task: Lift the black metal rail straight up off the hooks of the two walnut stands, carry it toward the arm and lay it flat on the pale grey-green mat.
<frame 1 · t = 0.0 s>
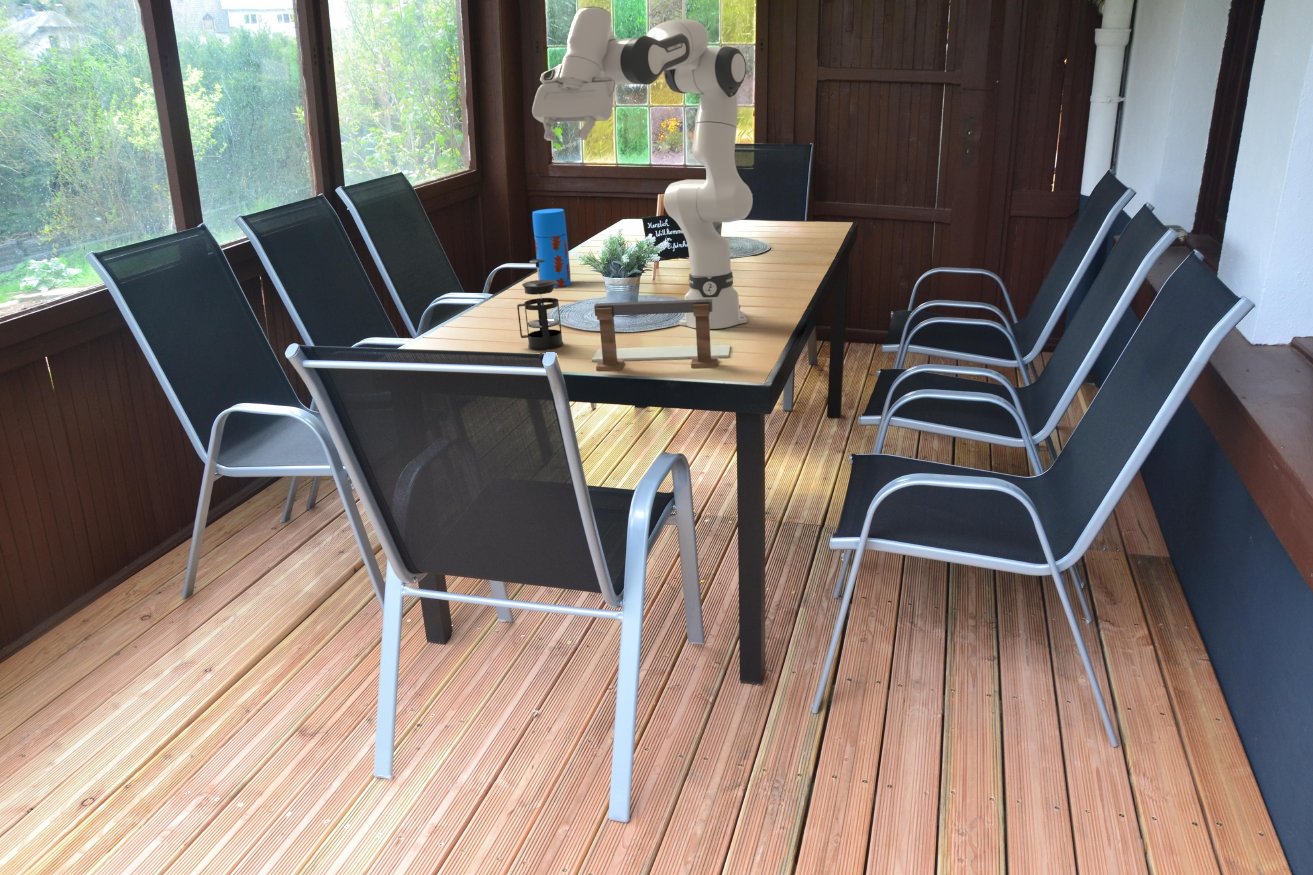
hand: (564, 139, 222), 54 cm above the table, tool tilted 30°, fingers open, 8 cm apart
rail: (653, 312, 242), point 13 cm above the table, touching stands
stands: (657, 365, 247), on the table
mat: (661, 354, 256), on the table
french press: (544, 346, 272), on the table
thermos: (555, 285, 349), on the table
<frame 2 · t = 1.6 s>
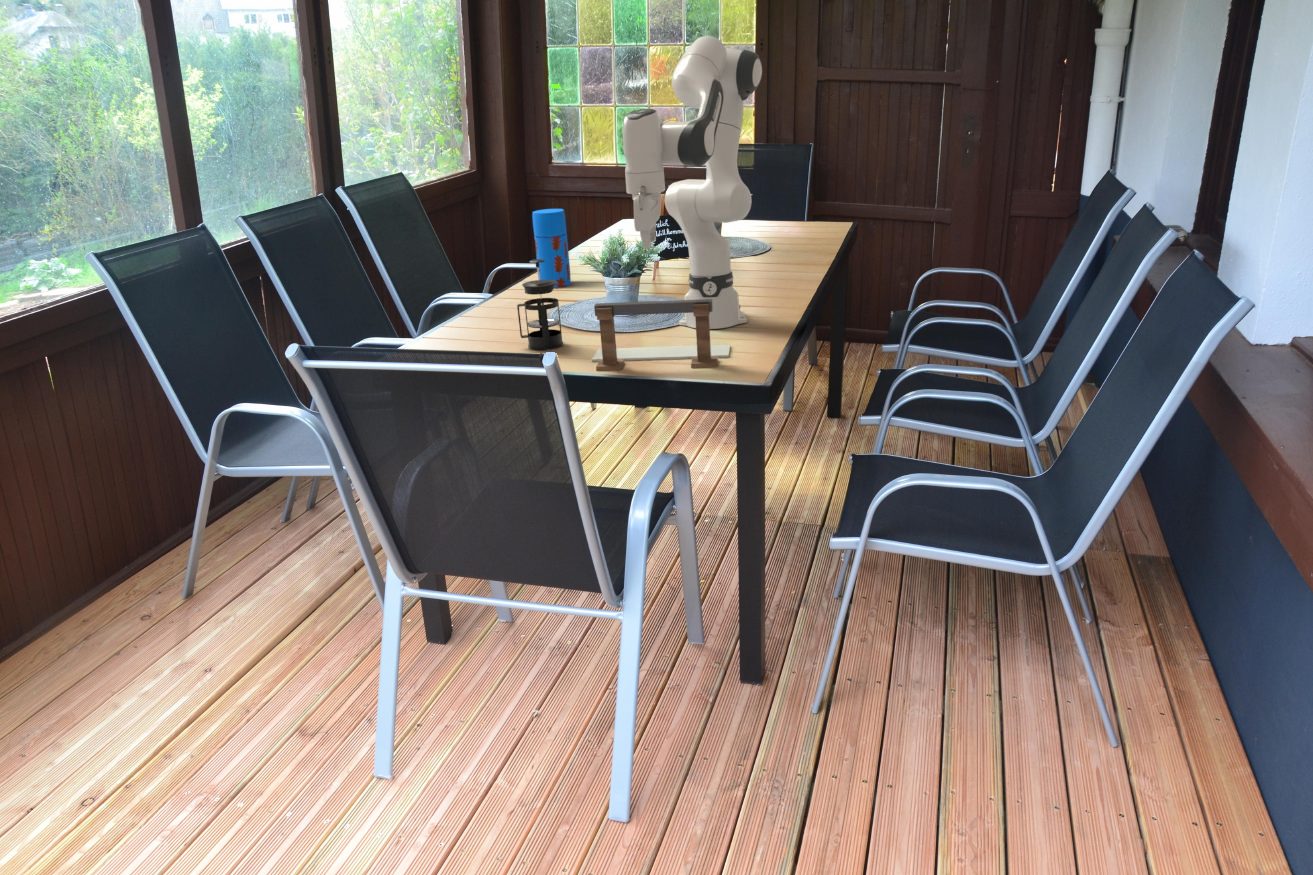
hand: (649, 245, 237), 29 cm above the table, tool pointing down, fingers open, 8 cm apart
nothing on the table moved.
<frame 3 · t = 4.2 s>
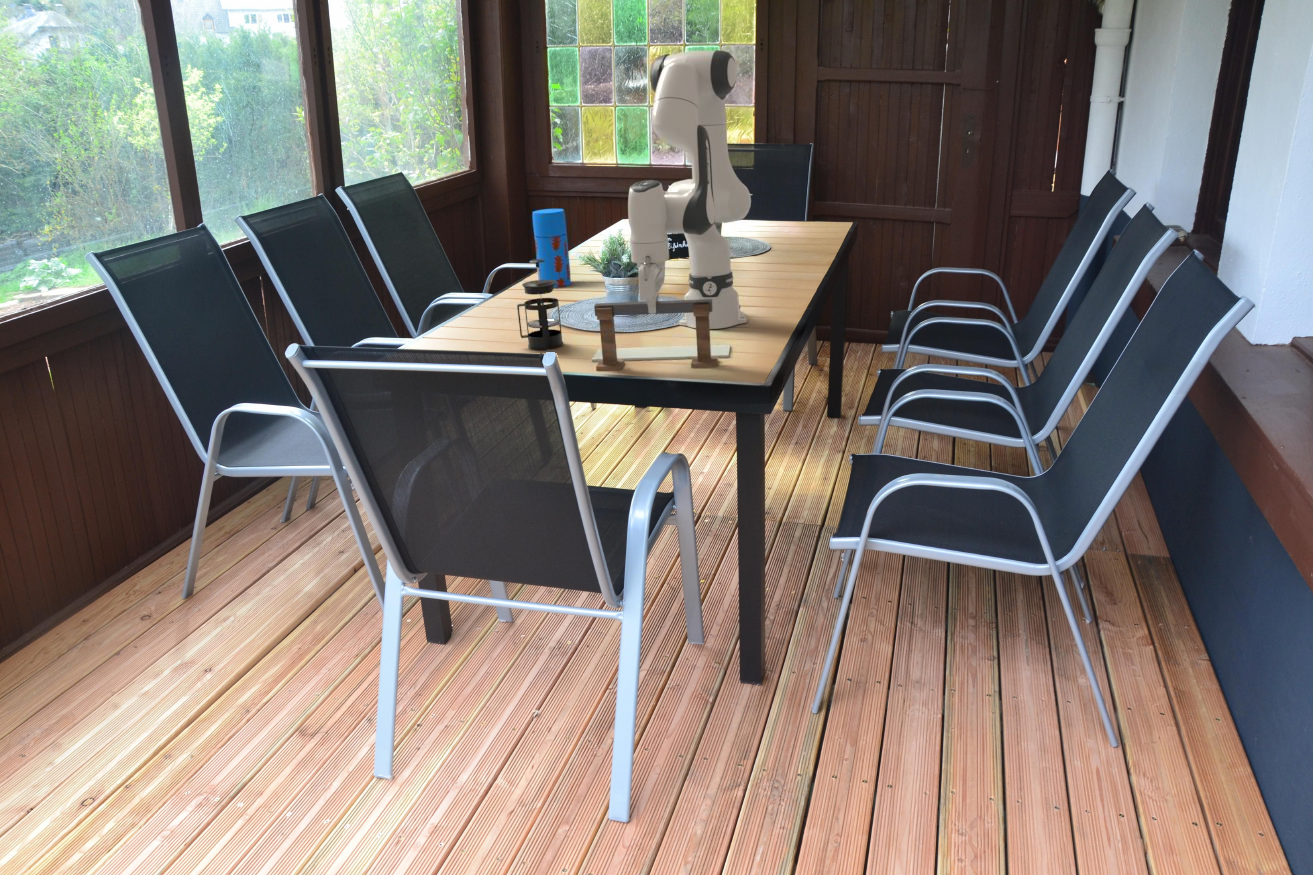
hand: (653, 311, 242), 13 cm above the table, tool pointing down, fingers closed on rail, 2 cm apart
rail: (653, 312, 242), point 13 cm above the table, touching gripper, stands
everything else where it was.
when the fingers open (3 cm above the table, at t = 10.4 s): rail drops 2 cm, resting on mat.
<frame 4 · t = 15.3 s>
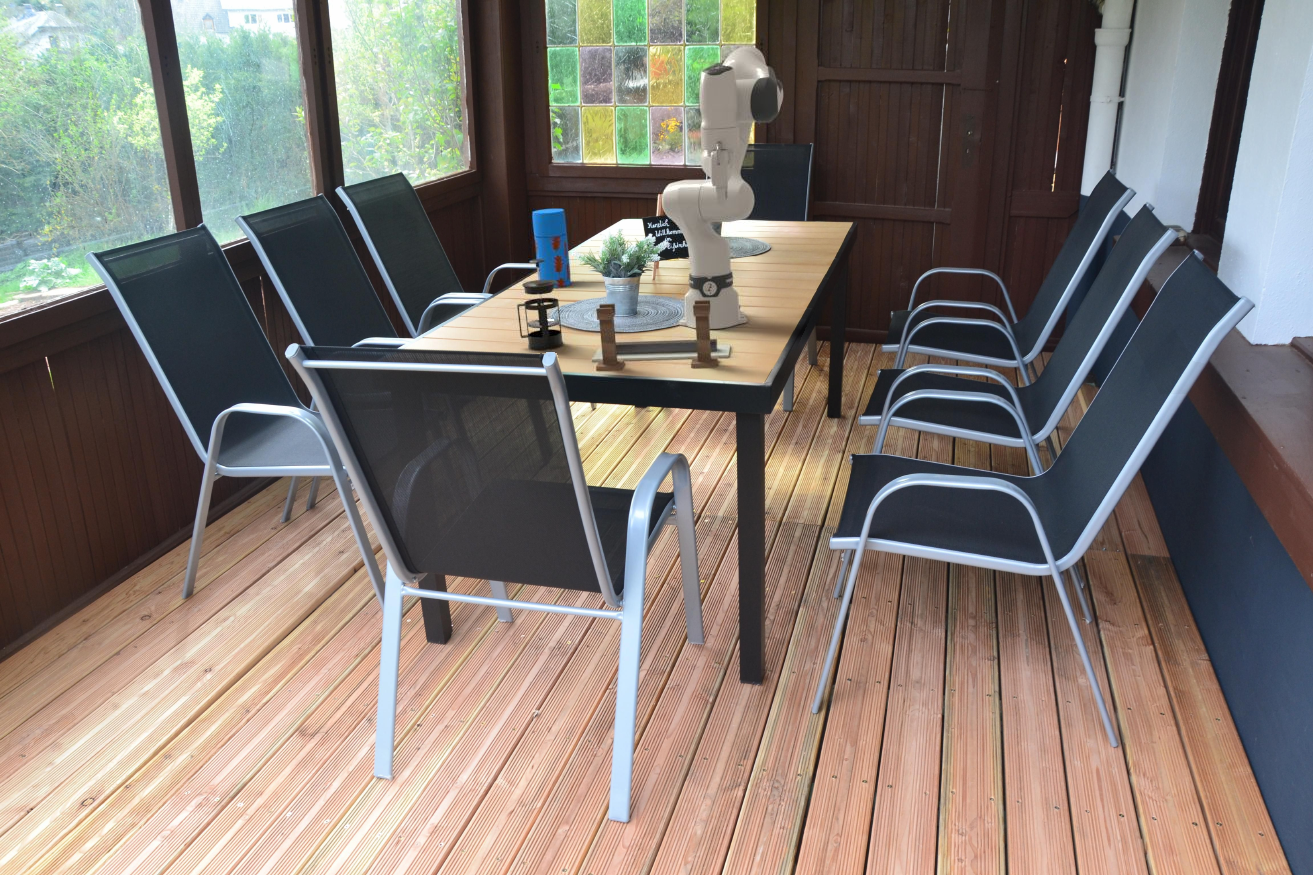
hand: (722, 201, 239), 37 cm above the table, tool pointing down, fingers open, 8 cm apart
rail: (661, 351, 256), point 1 cm above the table, touching mat
everything else where it was.
at the end: rail inside the target area on the mat (0.1 cm from its centre), point 0.6 cm above the mat's base; rail tilted 0°; the gripper is holding nothing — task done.
